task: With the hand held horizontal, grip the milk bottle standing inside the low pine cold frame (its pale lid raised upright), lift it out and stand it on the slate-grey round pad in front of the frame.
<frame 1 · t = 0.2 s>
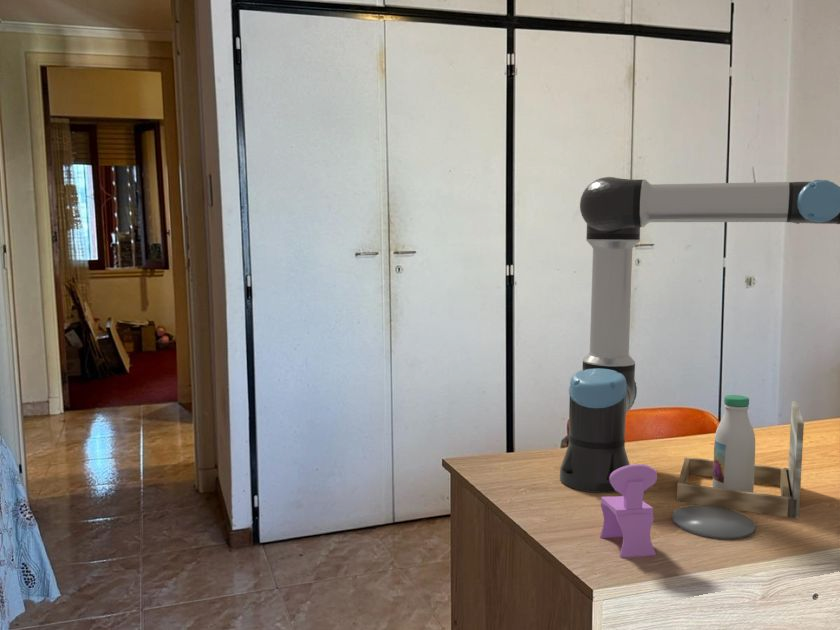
pad: (712, 523, 134), on the table
milk bottle: (732, 493, 150), resting in cold frame
cold frame: (732, 492, 150), on the table
toy chair: (626, 546, 125), on the table
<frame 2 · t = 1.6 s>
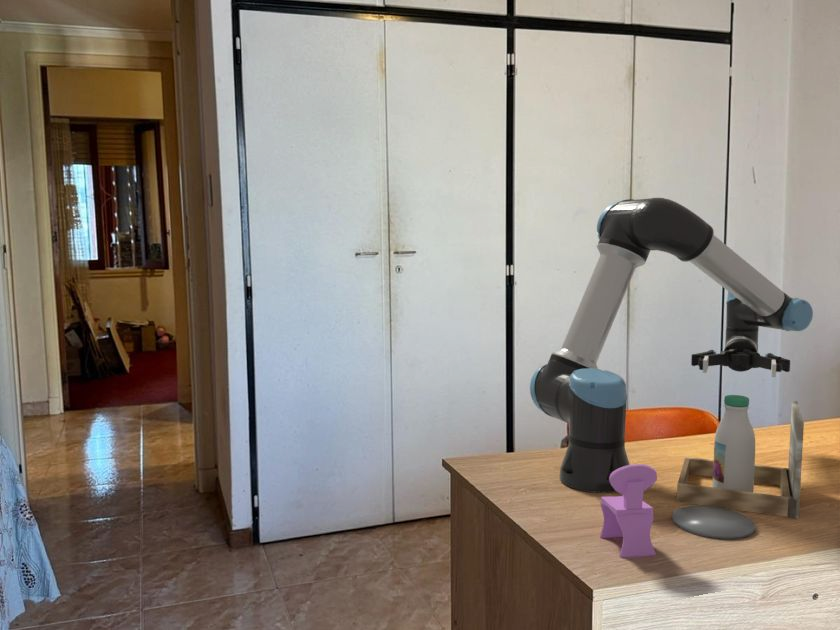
hand: (738, 368, 157), 24 cm above the table, tool horizontal, fingers open, 13 cm apart
nothing on the table moved.
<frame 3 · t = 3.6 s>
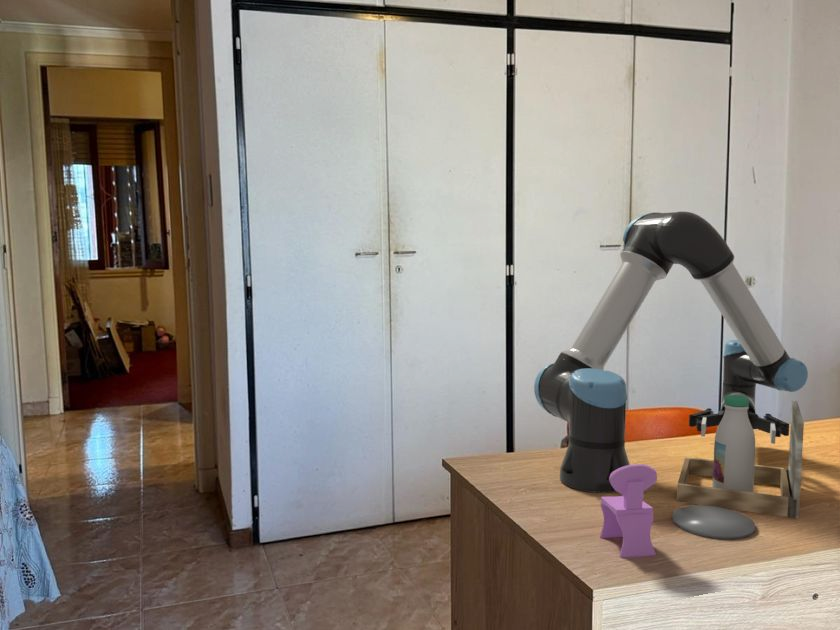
hand: (737, 433, 154), 11 cm above the table, tool horizontal, fingers open, 13 cm apart
nothing on the table moved.
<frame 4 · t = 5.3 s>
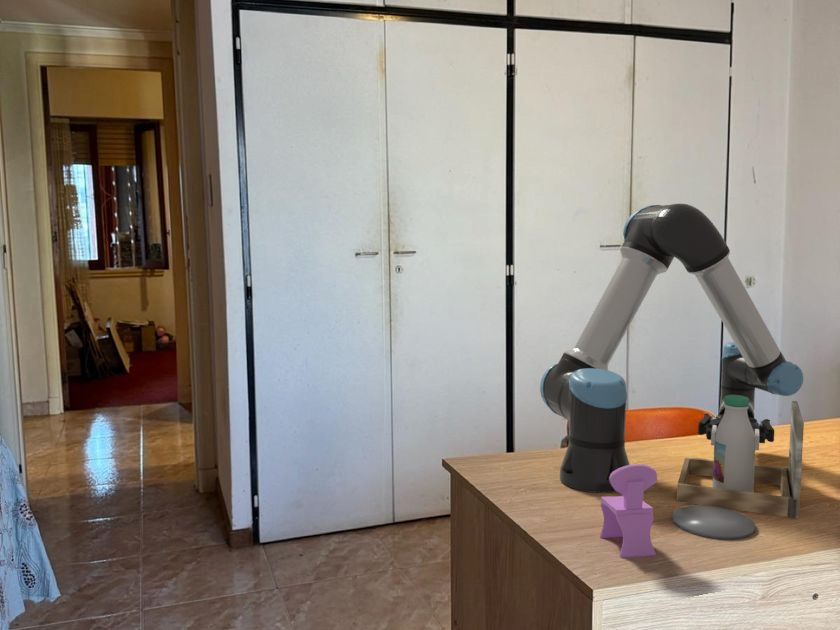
hand: (734, 441, 148), 11 cm above the table, tool horizontal, fingers closed on milk bottle, 7 cm apart
milk bottle: (732, 493, 150), resting in cold frame, touching gripper
everything else where it was.
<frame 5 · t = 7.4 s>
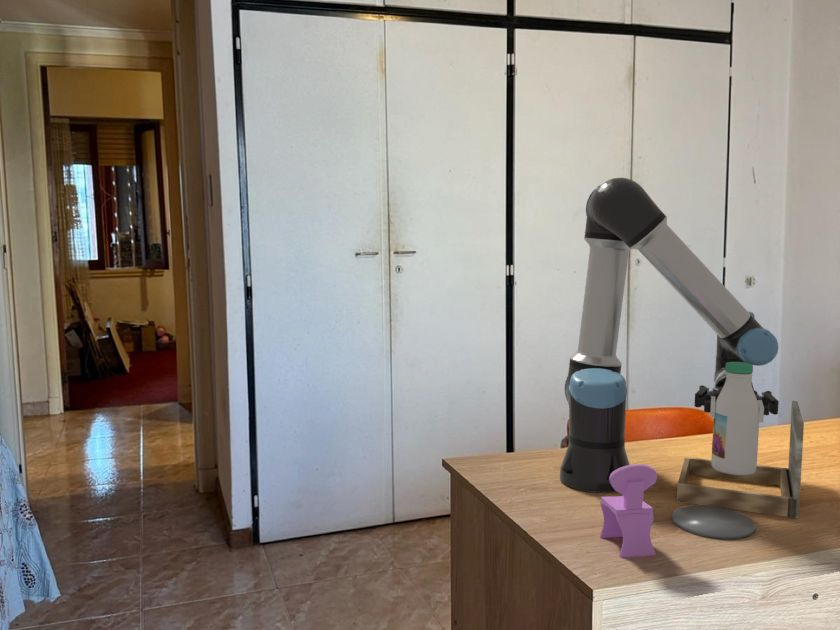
hand: (736, 412, 134), 20 cm above the table, tool horizontal, fingers closed on milk bottle, 7 cm apart
milk bottle: (733, 470, 136), point 9 cm above the table, touching gripper
everything else where it was.
when the fingers open (12 cm above the table, at t = 9.7 s): milk bottle stays where it is, resting on pad.
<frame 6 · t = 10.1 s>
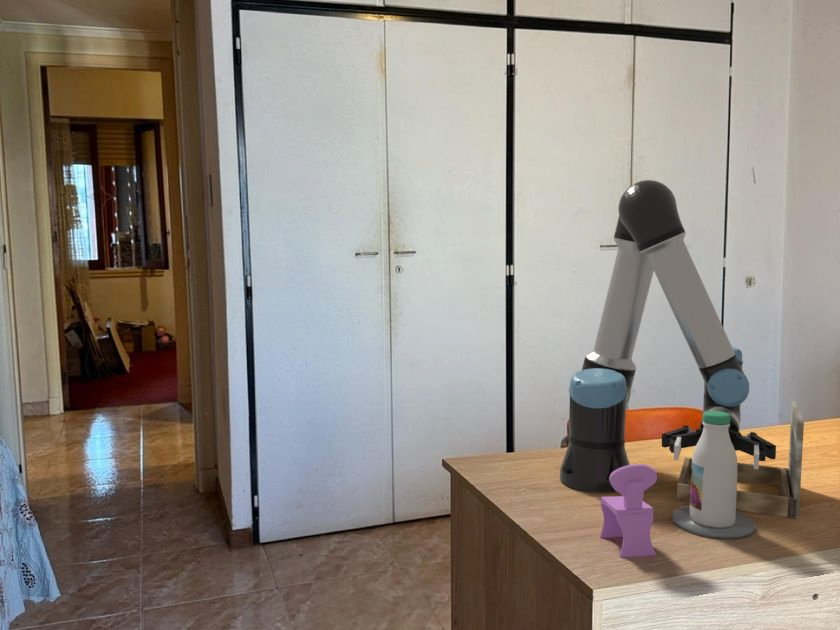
hand: (715, 457, 132), 12 cm above the table, tool horizontal, fingers open, 13 cm apart
milk bottle: (712, 522, 133), point 1 cm above the table, touching pad
everything else where it was.
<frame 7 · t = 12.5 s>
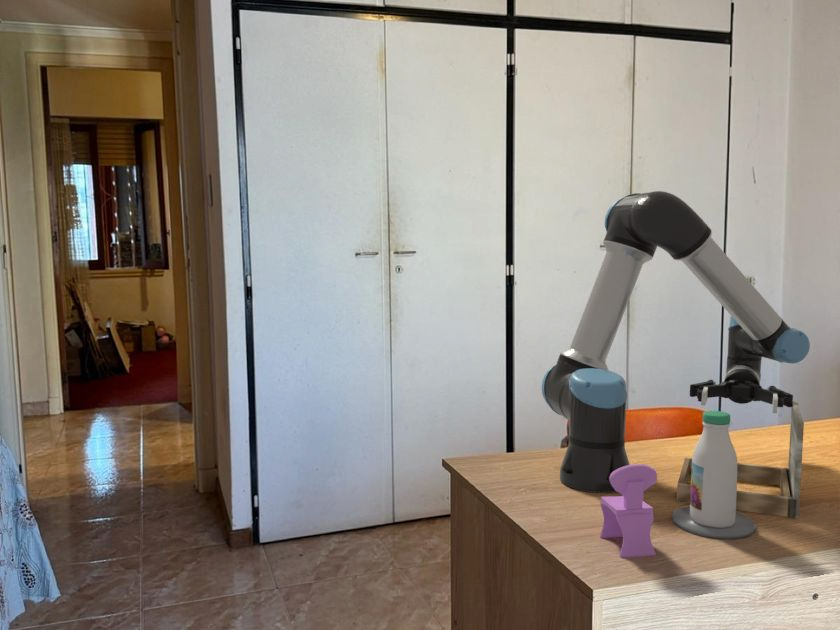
hand: (738, 402, 148), 19 cm above the table, tool horizontal, fingers open, 13 cm apart
nothing on the table moved.
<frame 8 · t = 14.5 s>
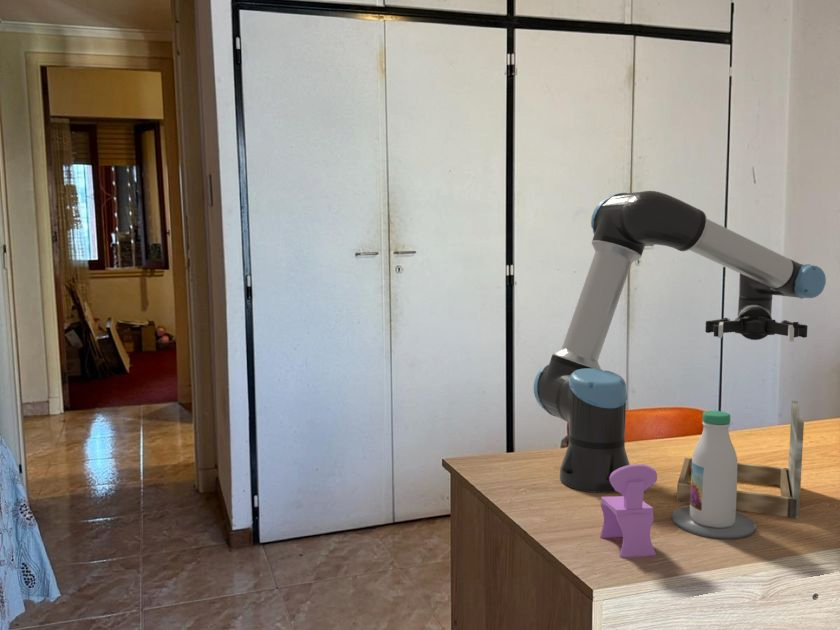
hand: (755, 333, 153), 32 cm above the table, tool horizontal, fingers open, 13 cm apart
nothing on the table moved.
at the end: milk bottle 1.0 cm from the pad (horizontally); milk bottle tilted 0°; the gripper is holding nothing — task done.
